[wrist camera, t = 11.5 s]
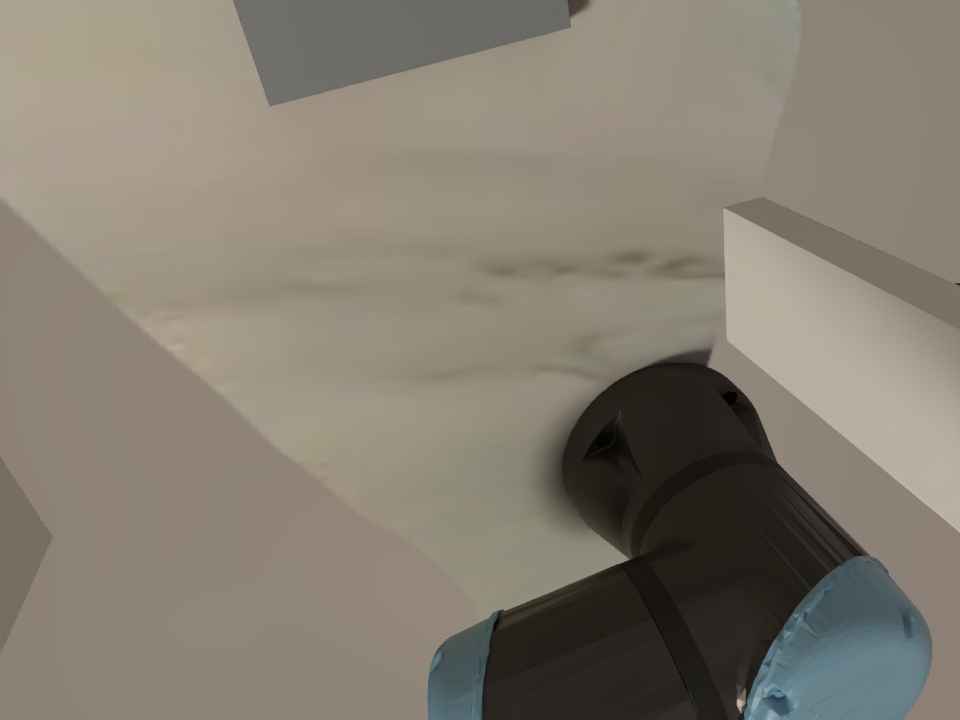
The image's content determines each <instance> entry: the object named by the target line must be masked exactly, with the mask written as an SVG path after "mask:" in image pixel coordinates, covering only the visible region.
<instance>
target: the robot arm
mask: <svg viewBox="0 0 960 720" xmlns="http://www.w3.org/2000/svg"><path fill="white" fill-rule="evenodd" d="M723 209H724V248H725V287H726V323H727V325H726V326H727V341H728V342H729V343H731V344H732V345H733V346H734V347H735V348H737V349H738V350H739V351H740V352H741V353H743V354H744V355H745V356H746V357H748V358H749V359H750V360H751V361H752V362H754V363H755V364H756V365H757V366H759V367H760V368H761V369H762V370H763V371H765V372H766V373H767V374H768V375H769V376H771V377H772V378H773V379H774V380H776V381H777V382H778V383H779V384H780V385H782V386H783V387H784V388H785V389H787V390H788V391H789V392H790V393H791V394H793V395H794V396H795V397H796V398H797V399H799V400H800V401H801V402H802V403H804V404H805V405H806V406H807V407H808V408H810V409H811V410H812V411H813V412H814V413H816V414H817V415H818V416H819V417H820V418H822V419H823V420H824V421H826V422H827V423H828V424H829V425H830V426H831V427H833V428H834V429H835V430H836V431H838V432H839V433H840V434H841V435H842V436H844V437H845V438H846V439H847V440H848V441H850V442H851V443H852V444H853V445H855V446H856V447H857V448H858V449H859V450H861V451H862V452H863V453H864V454H865V455H867V456H868V457H869V458H870V459H872V460H873V461H874V462H875V463H876V464H878V465H879V466H880V467H881V468H882V469H884V470H885V471H886V472H887V473H889V474H890V475H891V476H892V477H893V478H895V479H896V480H897V481H898V482H900V483H901V484H902V485H903V486H904V487H906V488H907V489H908V490H909V491H910V492H912V493H913V494H914V495H915V496H916V497H918V498H919V499H920V500H921V501H923V502H924V503H925V504H926V505H928V506H929V507H930V508H931V509H932V510H933V511H935V512H936V513H937V514H938V515H940V516H941V517H942V518H943V519H944V520H946V521H947V522H948V523H949V524H951V525H952V526H953V527H954V528H955V529H957V530H958V531H959V532H960V283H956V284H954V283H952V282H950V281H948V280H945V279H943V278H941V277H939V276H937V275H934V274H932V273H930V272H928V271H925V270H923V269H921V268H919V267H917V266H914V265H912V264H910V263H908V262H906V261H903V260H901V259H899V258H897V257H894V256H892V255H890V254H888V253H886V252H883V251H881V250H879V249H877V248H875V247H872V246H870V245H868V244H866V243H863V242H861V241H859V240H857V239H855V238H852V237H850V236H848V235H846V234H843V233H841V232H839V231H837V230H835V229H832V228H830V227H828V226H826V225H824V224H821V223H819V222H817V221H814V220H812V219H810V218H808V217H806V216H804V215H801V214H799V213H797V212H795V211H792V210H790V209H788V208H786V207H784V206H781V205H779V204H777V203H775V202H773V201H770V200H768V199H766V198H764V197H761V198H757V199H753V200H750V201H746V202H742V203H739V204H735V205H731V206H728V207H724V208H723ZM563 479H564V484H565V487H566V490H567V492H568V495H569V497H570V498H571V500H572V502H573V504H574V506H575V508H576V510H577V512H578V513H579V515H580V516H581V518H582V519H583V520H584V522H585V523H586V524H587V525H588V526H589V527H590V528H591V529H592V530H593V531H594V532H596V533H597V534H598V535H600V536H601V537H602V538H603V539H605V540H606V541H607V542H609V543H610V544H611V545H612V546H614V547H615V548H616V549H617V550H619V551H620V552H621V553H622V554H624V555H625V556H626V557H628V558H629V559H630V560H628V561H625V562H623V563H621V564H617V565H615V566H612V567H610V568H608V569H605V570H603V571H600V572H598V573H596V574H593V575H591V576H588V577H586V578H584V579H581V580H579V581H577V582H574V583H572V584H569V585H567V586H565V587H562V588H560V589H557V590H555V591H553V592H550V593H548V594H545V595H543V596H541V597H538V598H536V599H534V600H531V601H529V602H526V603H524V604H522V605H519V606H516V607H514V608H511V609H509V610H506V611H504V610H503V609H502V610H498V611H496V612H494V613H492V615H491V616H490V618H488V619H486V620H484V621H482V622H480V623H478V624H476V625H474V626H472V627H470V628H468V629H466V630H464V631H462V632H460V633H458V634H455V635H453V636H451V637H450V638H448V639H447V640H446V641H444V643H443V644H442V645H441V646H440V647H439V648H438V650H437V651H436V653H435V656H434V658H433V660H432V663H431V667H430V672H429V680H428V720H903V719H904V718H905V716H906V715H907V713H908V712H909V711H910V710H911V708H912V707H913V705H914V704H915V702H916V701H917V699H918V697H919V695H920V693H921V691H922V690H923V687H924V685H925V683H926V680H927V677H928V674H929V671H930V666H931V661H932V639H931V635H930V631H929V628H928V625H927V623H926V621H925V619H924V617H923V616H922V614H921V613H920V611H919V610H918V609H917V608H916V606H915V605H914V604H913V603H912V602H911V600H910V599H909V598H908V597H907V596H906V595H905V593H904V592H903V591H902V590H901V589H900V588H899V586H898V585H897V584H896V583H895V582H894V581H893V580H892V578H891V577H890V576H889V574H888V571H887V569H886V568H885V566H883V564H882V563H881V562H880V561H879V560H878V559H876V558H874V557H871V556H870V555H869V554H868V553H867V552H866V551H865V550H864V549H863V548H862V547H861V546H860V545H859V544H858V543H857V542H856V541H855V540H854V539H853V538H852V537H851V536H850V535H849V534H848V533H847V532H846V531H845V530H844V529H843V528H842V527H841V526H840V525H839V524H838V523H837V522H836V521H835V520H834V519H833V518H832V517H831V516H830V515H829V514H828V513H827V512H826V511H825V510H824V509H823V508H822V507H821V506H820V505H819V504H818V503H817V502H816V501H815V500H814V499H813V498H812V497H811V496H810V495H809V494H808V493H807V492H806V491H805V490H804V489H803V488H802V487H801V486H800V485H799V484H798V483H797V482H796V481H795V480H794V479H793V478H792V477H791V476H790V475H789V474H788V473H787V472H786V471H784V469H783V468H782V467H781V466H780V465H779V464H778V463H777V461H776V458H775V456H774V453H773V451H772V448H771V446H770V443H769V441H768V438H767V436H766V433H765V431H764V428H763V426H762V423H761V421H760V418H759V416H758V414H757V411H756V409H755V408H754V406H753V405H752V403H751V402H750V400H749V399H748V398H747V396H745V394H744V393H743V392H742V391H741V390H740V389H738V388H737V387H736V386H735V385H734V384H733V383H732V382H731V381H730V380H729V379H728V378H726V377H725V376H724V375H722V374H721V373H719V372H717V371H715V370H713V369H711V368H708V367H705V366H701V365H697V364H690V363H672V364H664V365H659V366H654V367H651V368H647V369H645V370H642V371H639V372H637V373H634V374H632V375H630V376H628V377H626V378H624V379H623V380H621V381H619V382H618V383H616V384H614V385H613V386H612V387H610V388H609V389H607V390H606V391H605V392H604V393H602V394H601V395H600V396H599V397H598V398H597V399H596V400H595V401H594V402H593V403H592V404H591V405H590V406H589V407H588V408H587V409H586V411H585V412H584V413H583V415H582V416H581V417H580V419H579V420H578V422H577V423H576V425H575V427H574V429H573V430H572V432H571V435H570V437H569V439H568V442H567V445H566V448H565V452H564V457H563ZM51 540H52V535H51V534H50V532H49V530H48V529H47V527H46V526H45V524H44V523H43V521H42V520H41V519H40V517H39V515H38V514H37V512H36V511H35V509H34V508H33V506H32V504H31V503H30V501H29V500H28V498H27V497H26V495H25V494H24V492H23V491H22V489H21V488H20V486H19V485H18V483H17V481H16V480H15V478H14V477H13V475H12V474H11V472H10V471H9V469H8V468H7V466H6V465H5V463H4V462H3V460H2V459H1V457H0V654H1V652H2V650H3V647H4V645H5V643H6V641H7V638H8V636H9V634H10V632H11V629H12V627H13V625H14V623H15V620H16V618H17V616H18V614H19V611H20V609H21V607H22V604H23V602H24V600H25V598H26V596H27V593H28V591H29V589H30V587H31V584H32V582H33V580H34V578H35V575H36V573H37V571H38V568H39V566H40V564H41V562H42V560H43V557H44V555H45V553H46V551H47V548H48V546H49V544H50V542H51Z"/></svg>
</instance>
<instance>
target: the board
mask: <svg viewBox="0 0 960 720" xmlns="http://www.w3.org/2000/svg"><path fill="white" fill-rule="evenodd" d="M233 2H234V5H235V8H236V10H237V13H238V16H239V19H240V22H241V25H242V28H243V31H244V33H245V36H246V39H247V42H248V45H249V48H250V51H251V54H252V57H253V59H254V62H255V65H256V68H257V71H258V74H259V77H260V80H261V82H262V85H263V88H264V91H265V94H266V97H267V100H268V103H269V105H270V106H273V105H277V104H281V103H284V102H288V101H292V100H296V99H300V98H303V97H307V96H311V95H315V94H319V93H323V92H326V91H330V90H334V89H338V88H342V87H345V86H349V85H353V84H357V83H361V82H365V81H368V80H372V79H376V78H380V77H384V76H387V75H391V74H395V73H399V72H403V71H407V70H410V69H414V68H418V67H422V66H426V65H429V64H433V63H437V62H441V61H445V60H449V59H452V58H456V57H460V56H464V55H468V54H471V53H475V52H479V51H483V50H487V49H491V48H494V47H498V46H502V45H506V44H510V43H513V42H517V41H521V40H525V39H529V38H533V37H536V36H540V35H544V34H548V33H552V32H555V31H559V30H563V29H567V28H571V23H570V16H569V8H568V0H233Z"/></svg>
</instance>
